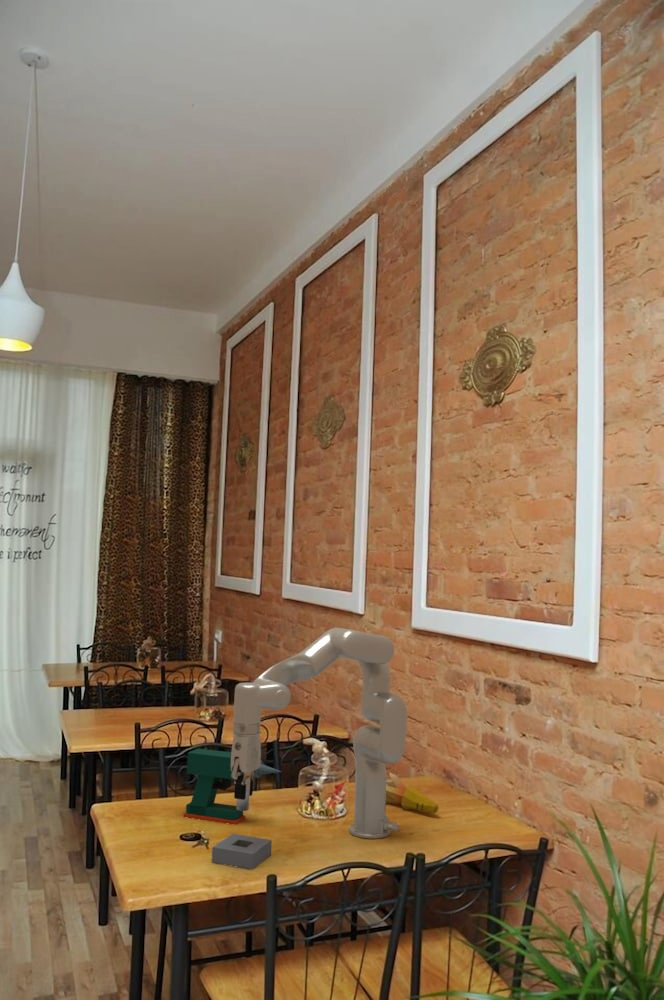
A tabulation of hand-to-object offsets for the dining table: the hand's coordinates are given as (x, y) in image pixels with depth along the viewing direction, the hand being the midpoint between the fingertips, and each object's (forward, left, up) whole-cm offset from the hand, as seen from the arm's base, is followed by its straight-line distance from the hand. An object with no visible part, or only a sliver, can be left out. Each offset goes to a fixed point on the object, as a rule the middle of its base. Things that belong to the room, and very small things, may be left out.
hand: (243, 796), depth 219 cm
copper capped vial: (0, 0, -3) cm, 3 cm away
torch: (-30, -64, -17) cm, 73 cm away
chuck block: (0, 0, -17) cm, 17 cm away
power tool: (+17, -28, -17) cm, 37 cm away
